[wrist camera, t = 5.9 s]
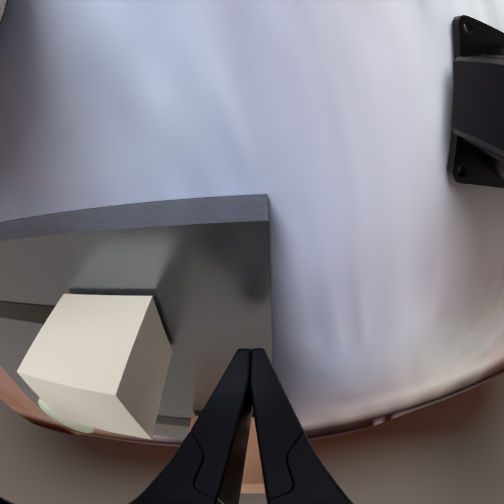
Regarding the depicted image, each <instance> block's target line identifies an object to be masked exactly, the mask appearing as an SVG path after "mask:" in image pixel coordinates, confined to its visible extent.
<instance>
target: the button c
mask: <svg viewBox="0 0 504 504" xmlns="http://www.w3.org/2000/svg"><path fill="white" fill-rule="evenodd" d="M38 404H39V406H40V407H41V409H42V410H43V411H44V412H45V413H47V414H48V415H49V416H50V417H52V418H53V419H55V420H56V421H58V422H60V423H61V424H63V425H65V426H67V427H69V428H72V429H74V430H77V431H80V432H84V433H92V432H93V430H94V428H93V427H89V426H85V425H82V424H78V423H74V422H71V421H68V420H64V419H61V418H60V417H59V416H57V415H56V414H55V413H54V412H53V411H52V410H51V409H50V408H49V407H48V406H47V405H46V404H45V403H44V402H43V401H42V399H41V398H39V401H38Z"/></svg>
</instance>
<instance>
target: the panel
mask: <svg viewBox="0 0 504 504" xmlns="http://www.w3.org/2000/svg"><path fill="white" fill-rule="evenodd" d="M63 294H83V295H123V296H153V299H154V302H155V305H156V308H157V311H158V314H159V316H160V319H161V322H162V325H163V328H164V330H165V333H166V336H167V338H168V341H169V344H170V346H171V349H172V351H173V352H172V356H171V359H170V363H169V367H168V372H167V376H166V380H165V384H164V388H163V392H162V396H161V401H160V405H159V410H158V414H157V418H156V423H155V428H154V432H153V435H160V436H168V437H177V438H186V436H187V435H188V433H189V429H190V423H191V416H199V415H200V413H201V411H202V410H203V408H204V406H205V405H206V403H207V401H208V400H209V398H210V396H211V395H212V393H213V391H214V389H215V388H216V386H217V384H218V383H219V381H220V379H221V377H222V376H223V374H224V372H225V370H226V369H227V367H228V365H229V363H230V362H231V360H232V358H233V356H234V355H235V353H236V351H237V350H238V349H240V348H249V349H253V348H263V349H264V350H265V351H266V353H267V356H268V358H269V360H270V362H271V364H272V311H271V271H270V239H269V215H268V199H267V194H261V195H240V196H222V197H206V198H192V199H179V200H167V201H156V202H145V203H135V204H126V205H117V206H108V207H100V208H91V209H84V210H76V211H69V212H62V213H55V214H48V215H42V216H35V217H29V218H23V219H17V220H12V221H6V222H1V223H0V365H1V366H2V368H3V369H4V370H5V371H6V372H7V374H8V375H9V376H10V377H11V378H12V379H13V381H14V382H15V383H16V384H17V385H18V386H19V387H20V388H21V390H22V391H23V392H24V393H25V394H26V395H27V396H28V397H29V398H30V399H31V400H32V401H33V402H34V403H35V404H36V405H37V406H38V407H40V406H39V404H38V401H39V398H40V397H39V396H38V395H37V394H36V393H35V392H34V391H33V390H32V389H31V388H30V387H29V385H28V384H27V383H26V382H25V381H24V380H23V379H22V377H21V376H20V375H19V374H18V373H17V370H18V368H19V366H20V364H21V363H22V361H23V359H24V357H25V355H26V354H27V352H28V350H29V348H30V347H31V345H32V343H33V342H34V340H35V338H36V336H37V335H38V333H39V332H40V330H41V328H42V327H43V325H44V323H45V322H46V320H47V319H48V317H49V315H50V314H51V312H52V311H53V309H54V308H55V306H56V305H57V303H58V302H59V300H60V299H61V297H62V296H63ZM272 366H273V365H272ZM252 418H254V414H253V409H252Z"/></svg>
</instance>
